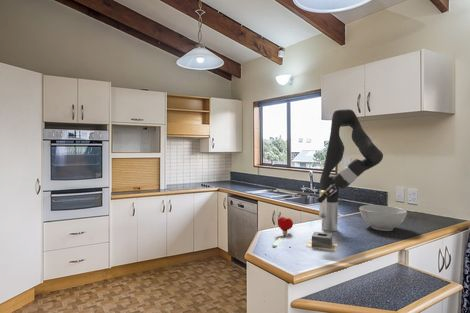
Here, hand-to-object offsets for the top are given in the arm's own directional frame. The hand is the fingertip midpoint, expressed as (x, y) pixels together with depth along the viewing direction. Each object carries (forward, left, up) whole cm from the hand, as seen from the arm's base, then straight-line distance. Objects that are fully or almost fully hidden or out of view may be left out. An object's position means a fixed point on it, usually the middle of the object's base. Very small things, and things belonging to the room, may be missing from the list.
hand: (319, 200), depth 155 cm
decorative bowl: (-55, +32, -24) cm, 68 cm away
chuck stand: (0, +2, -23) cm, 23 cm away
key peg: (0, +2, -8) cm, 8 cm away
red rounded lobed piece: (-14, -20, -24) cm, 34 cm away
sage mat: (+2, -15, -23) cm, 28 cm away
